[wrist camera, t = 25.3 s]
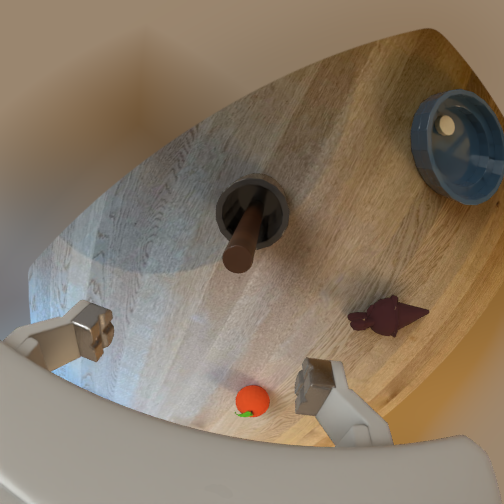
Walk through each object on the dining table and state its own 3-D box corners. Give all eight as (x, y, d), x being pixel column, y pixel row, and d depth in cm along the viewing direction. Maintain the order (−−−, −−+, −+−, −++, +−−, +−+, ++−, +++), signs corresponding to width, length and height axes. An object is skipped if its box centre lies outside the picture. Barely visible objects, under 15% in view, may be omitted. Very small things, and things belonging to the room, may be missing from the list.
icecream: (438, 296, 37) (351, 305, 40) (434, 338, 38) (350, 349, 41) (423, 286, 44) (345, 294, 47) (420, 324, 44) (346, 333, 47)
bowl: (388, 127, 35) (404, 124, 29) (452, 78, 30) (472, 72, 24) (441, 217, 39) (460, 227, 33) (497, 163, 34) (517, 167, 28)
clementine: (247, 404, 57) (243, 428, 50) (227, 387, 55) (221, 412, 48) (276, 392, 54) (275, 417, 48) (257, 374, 53) (254, 400, 46)
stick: (244, 207, 41) (216, 258, 22) (256, 197, 40) (237, 239, 21) (255, 219, 41) (237, 279, 23) (267, 209, 41) (259, 261, 22)
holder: (215, 199, 41) (201, 210, 34) (259, 161, 39) (255, 163, 31) (253, 242, 43) (248, 263, 36) (298, 207, 41) (303, 220, 33)
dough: (431, 120, 33) (436, 119, 31) (443, 113, 32) (448, 112, 31) (440, 138, 34) (445, 138, 32) (452, 130, 33) (457, 130, 31)
